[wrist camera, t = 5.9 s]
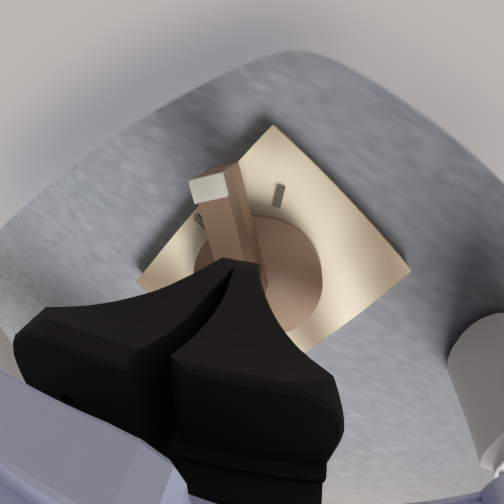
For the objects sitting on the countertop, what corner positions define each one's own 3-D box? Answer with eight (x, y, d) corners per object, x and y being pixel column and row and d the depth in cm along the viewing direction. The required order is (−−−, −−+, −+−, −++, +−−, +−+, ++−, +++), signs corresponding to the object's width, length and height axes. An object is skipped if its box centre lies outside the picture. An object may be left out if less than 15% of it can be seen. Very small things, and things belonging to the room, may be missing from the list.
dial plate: (261, 371, 25) (258, 383, 24) (143, 274, 23) (134, 283, 22) (406, 262, 19) (412, 272, 18) (274, 124, 17) (272, 124, 16)
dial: (329, 318, 20) (332, 370, 16) (218, 330, 22) (198, 379, 18) (298, 147, 16) (296, 157, 12) (169, 177, 18) (128, 198, 14)
